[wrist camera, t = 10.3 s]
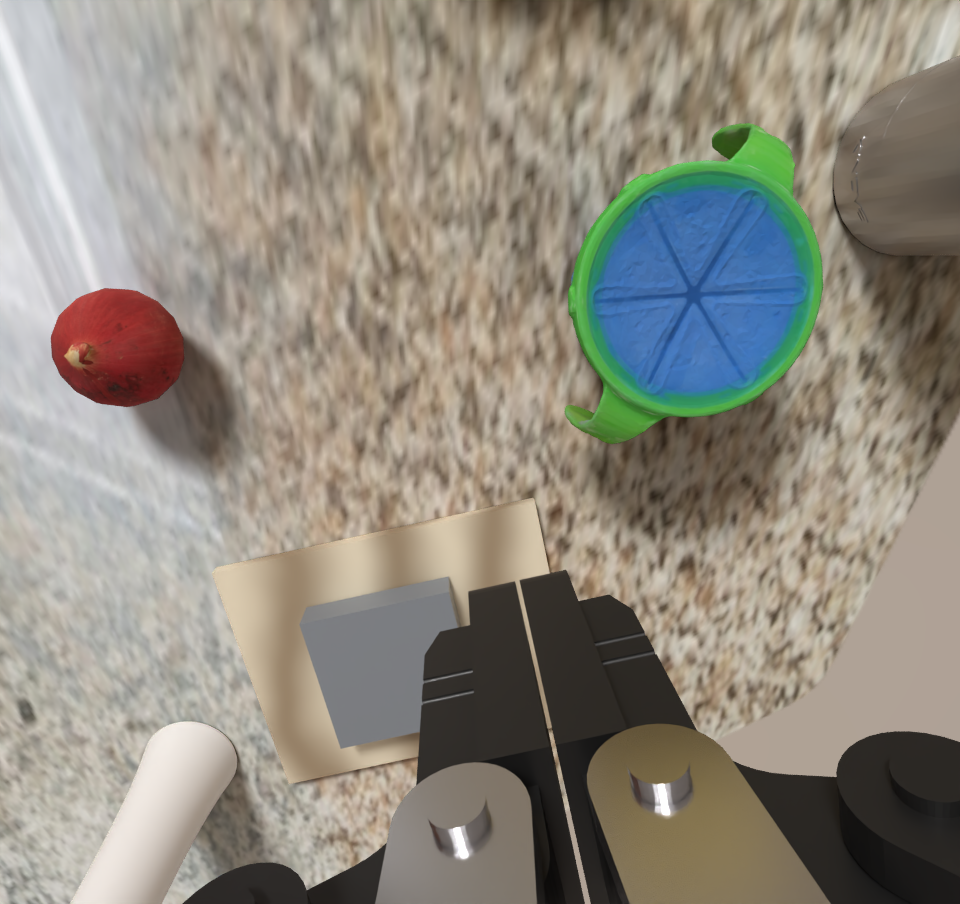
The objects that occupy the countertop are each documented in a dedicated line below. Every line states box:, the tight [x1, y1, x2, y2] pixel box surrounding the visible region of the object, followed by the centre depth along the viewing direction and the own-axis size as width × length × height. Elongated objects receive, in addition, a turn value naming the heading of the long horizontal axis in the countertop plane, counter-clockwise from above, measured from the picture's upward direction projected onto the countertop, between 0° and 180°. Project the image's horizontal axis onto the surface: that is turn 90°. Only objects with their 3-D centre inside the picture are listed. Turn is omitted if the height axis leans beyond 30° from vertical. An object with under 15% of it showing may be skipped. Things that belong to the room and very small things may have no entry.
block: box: [299, 576, 461, 749], centre depth 41 cm, size 2×9×9 cm
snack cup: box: [565, 123, 823, 444], centre depth 32 cm, size 16×10×10 cm
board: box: [212, 498, 552, 784], centre depth 42 cm, size 20×16×1 cm
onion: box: [51, 288, 184, 407], centre depth 33 cm, size 6×6×8 cm
